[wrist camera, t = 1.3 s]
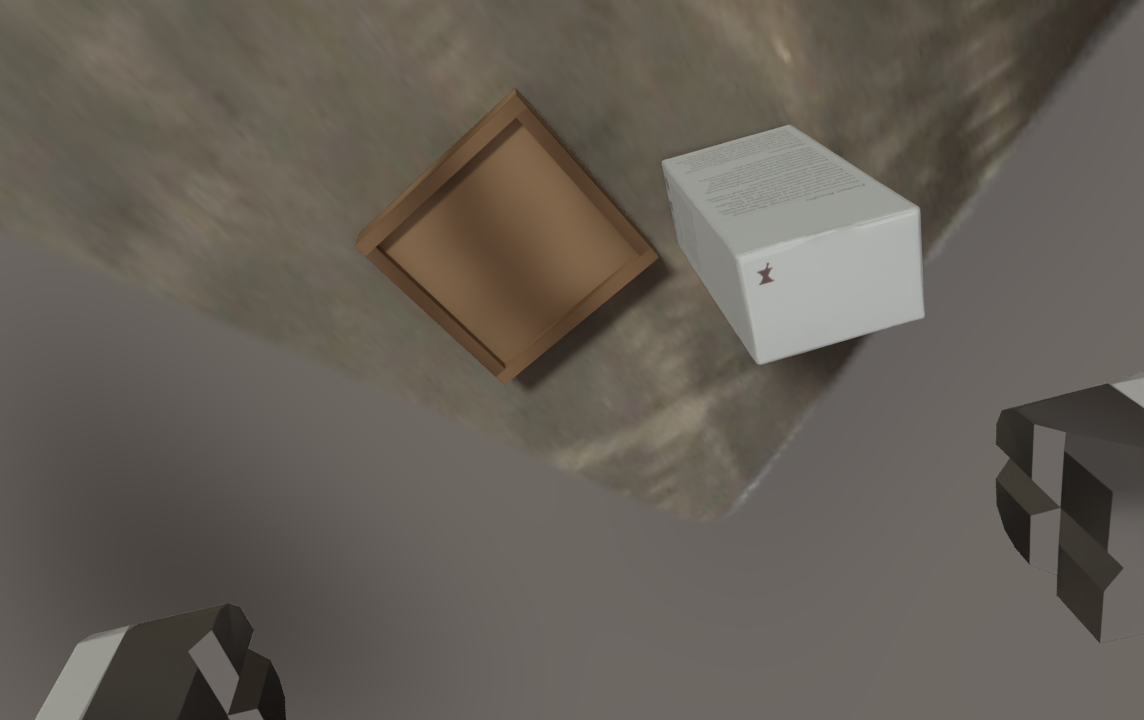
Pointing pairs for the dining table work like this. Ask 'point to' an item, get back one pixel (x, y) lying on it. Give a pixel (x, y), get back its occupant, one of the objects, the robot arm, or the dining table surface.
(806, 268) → the skincare box
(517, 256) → the walnut tray
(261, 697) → the robot arm
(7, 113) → the dining table surface
